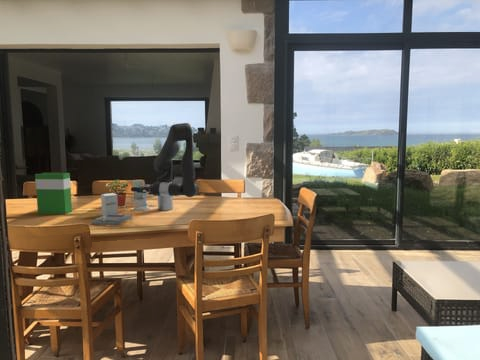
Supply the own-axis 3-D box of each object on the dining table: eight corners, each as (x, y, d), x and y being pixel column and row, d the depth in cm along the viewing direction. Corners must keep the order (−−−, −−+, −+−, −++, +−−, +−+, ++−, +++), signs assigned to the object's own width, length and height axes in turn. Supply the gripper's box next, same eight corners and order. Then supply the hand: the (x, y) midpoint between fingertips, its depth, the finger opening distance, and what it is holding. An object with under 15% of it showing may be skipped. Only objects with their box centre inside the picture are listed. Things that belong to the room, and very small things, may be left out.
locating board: (108, 217, 231) (108, 209, 230) (131, 218, 228) (131, 210, 227) (91, 224, 213) (91, 216, 213) (115, 225, 211) (115, 217, 210)
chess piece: (138, 207, 259) (138, 184, 257) (152, 207, 257) (151, 184, 255) (130, 210, 250) (130, 186, 248) (145, 211, 247) (144, 187, 245)
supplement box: (105, 217, 231) (104, 195, 229) (101, 215, 237) (100, 194, 235) (118, 215, 235) (117, 194, 233) (114, 213, 241) (113, 192, 239)
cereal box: (37, 213, 241) (35, 174, 238) (45, 211, 248) (42, 172, 245) (65, 214, 239) (63, 174, 236) (72, 211, 247) (69, 173, 243)
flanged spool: (135, 198, 227) (134, 179, 225) (148, 199, 226) (147, 179, 224) (128, 201, 219) (127, 181, 218) (142, 201, 218) (141, 181, 216)
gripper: (167, 180, 225) (138, 180, 228) (157, 184, 211) (127, 183, 214) (167, 193, 226) (139, 192, 229) (157, 198, 212) (127, 197, 215)
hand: (133, 188), depth 222 cm, fingers closed on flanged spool, 5 cm apart
